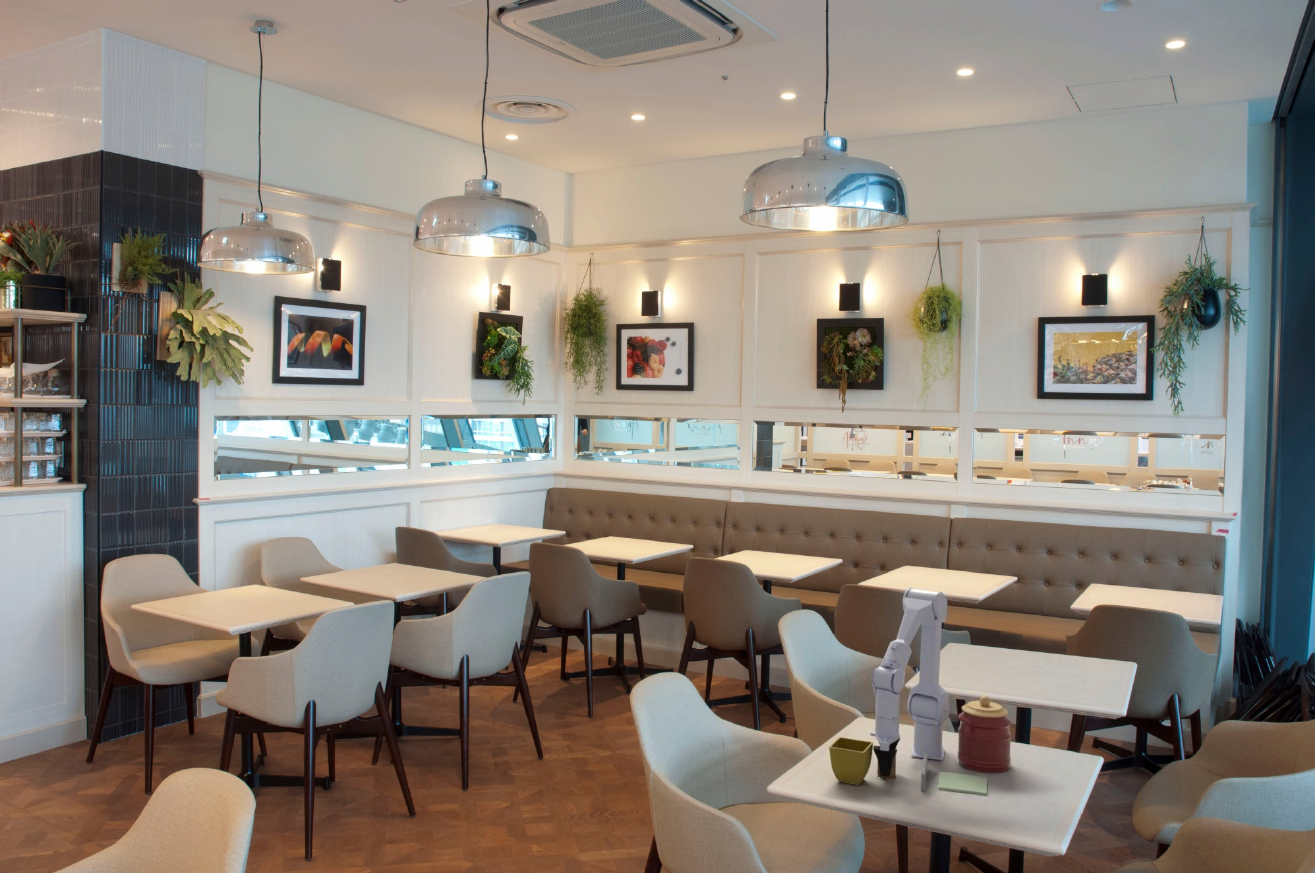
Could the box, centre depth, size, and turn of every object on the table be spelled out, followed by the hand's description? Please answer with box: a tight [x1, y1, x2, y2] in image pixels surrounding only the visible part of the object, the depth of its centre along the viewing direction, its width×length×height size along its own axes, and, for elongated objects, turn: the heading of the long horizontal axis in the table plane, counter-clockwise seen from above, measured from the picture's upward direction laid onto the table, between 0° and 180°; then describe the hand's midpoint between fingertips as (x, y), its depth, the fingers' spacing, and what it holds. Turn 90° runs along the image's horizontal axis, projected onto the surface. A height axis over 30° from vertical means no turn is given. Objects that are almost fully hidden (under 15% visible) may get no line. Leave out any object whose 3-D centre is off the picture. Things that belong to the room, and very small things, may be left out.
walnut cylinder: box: [876, 754, 897, 780], centre depth 238 cm, size 4×4×6 cm
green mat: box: [937, 771, 988, 796], centre depth 234 cm, size 11×11×1 cm
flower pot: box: [828, 736, 874, 786], centre depth 235 cm, size 9×9×9 cm
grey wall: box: [920, 753, 929, 792], centre depth 236 cm, size 16×1×4 cm, turn 162°
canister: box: [957, 695, 1012, 774], centre depth 247 cm, size 13×13×18 cm
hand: (886, 770), depth 238 cm, fingers open, 7 cm apart
